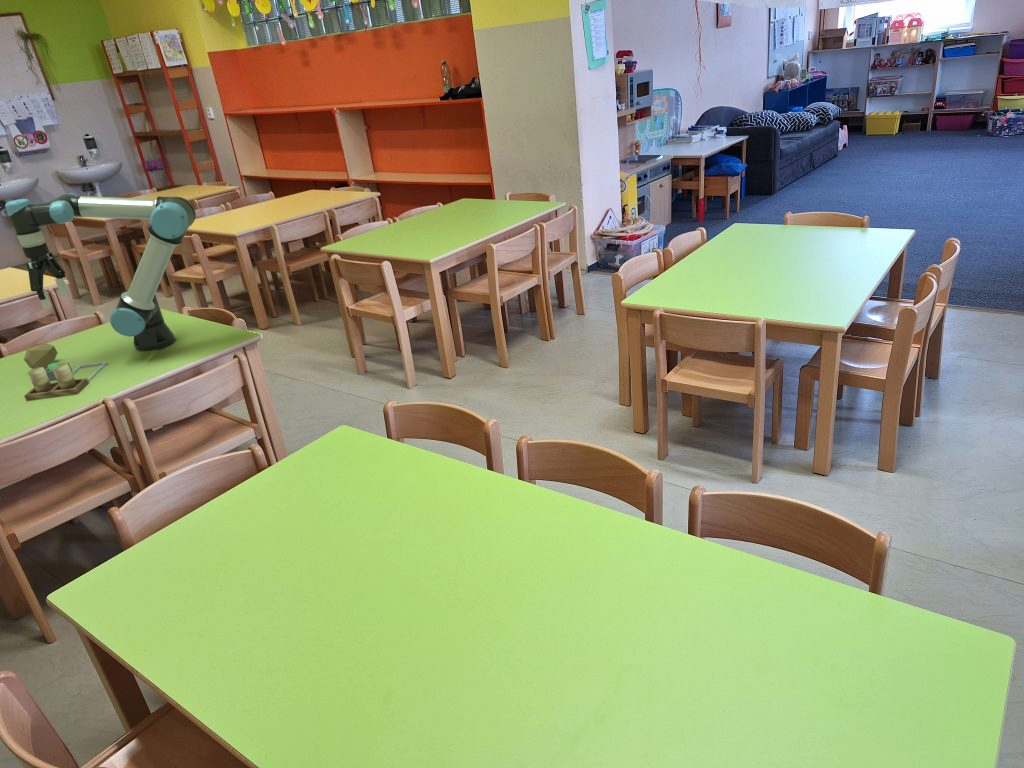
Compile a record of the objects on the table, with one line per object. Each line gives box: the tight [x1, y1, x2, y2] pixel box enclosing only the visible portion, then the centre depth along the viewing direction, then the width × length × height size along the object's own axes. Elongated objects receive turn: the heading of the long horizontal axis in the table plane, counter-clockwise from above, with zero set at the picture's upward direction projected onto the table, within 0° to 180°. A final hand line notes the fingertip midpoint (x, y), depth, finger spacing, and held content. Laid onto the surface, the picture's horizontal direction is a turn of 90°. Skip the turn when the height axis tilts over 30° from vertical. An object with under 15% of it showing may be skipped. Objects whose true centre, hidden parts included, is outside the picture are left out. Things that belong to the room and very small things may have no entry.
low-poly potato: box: [23, 342, 59, 370], centre depth 275 cm, size 15×11×12 cm
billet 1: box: [27, 367, 52, 393], centre depth 250 cm, size 5×5×9 cm
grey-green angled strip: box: [72, 361, 109, 383], centre depth 265 cm, size 10×16×2 cm, turn 5°
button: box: [48, 361, 61, 371], centre depth 265 cm, size 4×4×6 cm
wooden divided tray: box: [23, 377, 90, 402], centre depth 252 cm, size 18×9×3 cm, turn 95°
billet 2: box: [53, 363, 77, 390], centre depth 250 cm, size 5×5×9 cm
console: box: [45, 362, 73, 382], centre depth 265 cm, size 7×7×4 cm
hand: (56, 301), depth 262 cm, fingers open, 13 cm apart
